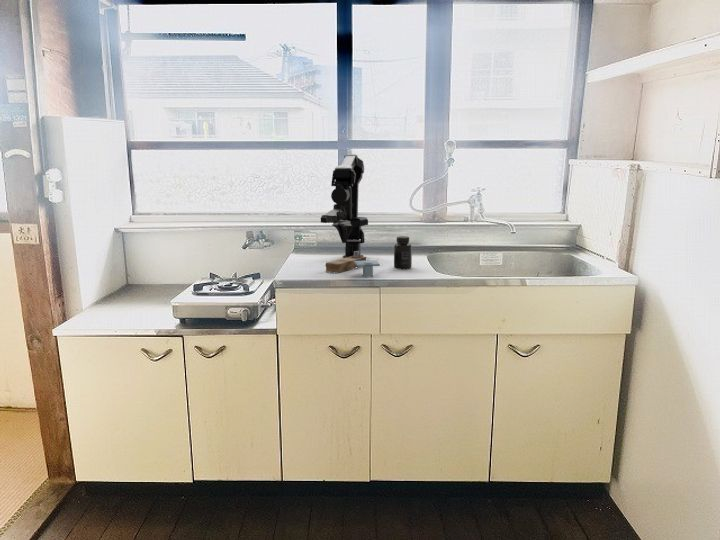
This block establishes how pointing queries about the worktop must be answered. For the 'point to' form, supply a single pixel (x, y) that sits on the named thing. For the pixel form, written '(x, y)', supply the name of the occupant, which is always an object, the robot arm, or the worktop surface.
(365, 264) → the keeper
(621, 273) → the worktop surface
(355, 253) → the cylinder
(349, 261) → the link
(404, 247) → the supplement bottle
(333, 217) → the robot arm
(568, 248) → the worktop surface
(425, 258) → the worktop surface
